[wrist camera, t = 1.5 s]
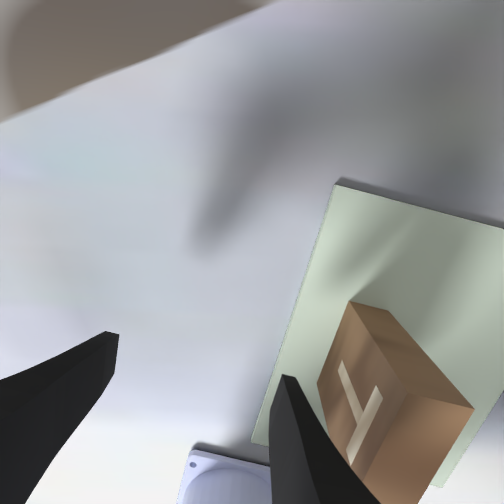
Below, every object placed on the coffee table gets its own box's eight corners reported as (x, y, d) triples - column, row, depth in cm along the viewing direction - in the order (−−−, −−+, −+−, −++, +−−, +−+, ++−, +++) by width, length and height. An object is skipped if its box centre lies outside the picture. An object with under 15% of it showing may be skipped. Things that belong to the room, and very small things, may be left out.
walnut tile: (352, 392, 18) (404, 524, 11) (316, 383, 18) (347, 511, 11) (388, 310, 16) (475, 409, 10) (348, 300, 16) (407, 392, 10)
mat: (439, 481, 20) (442, 487, 20) (251, 437, 20) (250, 442, 20) (582, 249, 15) (591, 252, 15) (334, 184, 15) (336, 184, 14)
